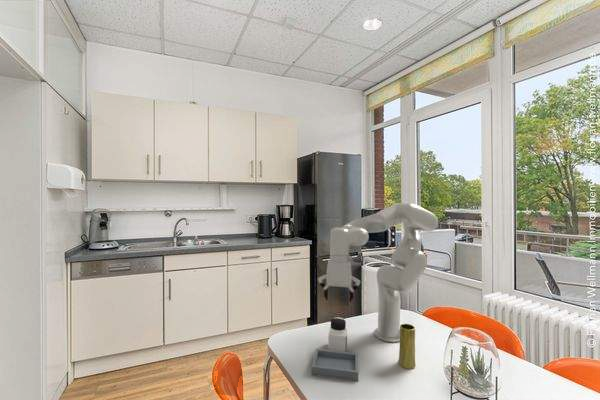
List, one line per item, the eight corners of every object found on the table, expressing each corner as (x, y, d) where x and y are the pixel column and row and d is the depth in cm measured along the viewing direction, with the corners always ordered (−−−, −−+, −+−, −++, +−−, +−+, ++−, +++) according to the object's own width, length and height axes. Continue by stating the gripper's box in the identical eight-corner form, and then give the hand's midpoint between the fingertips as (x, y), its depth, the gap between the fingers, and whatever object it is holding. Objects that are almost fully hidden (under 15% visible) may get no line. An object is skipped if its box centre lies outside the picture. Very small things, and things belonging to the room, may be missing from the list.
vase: (407, 371, 104) (408, 331, 104) (394, 362, 110) (395, 324, 109) (419, 366, 107) (420, 328, 107) (406, 358, 112) (406, 321, 112)
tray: (357, 361, 110) (357, 353, 109) (358, 381, 98) (358, 372, 98) (315, 356, 112) (316, 348, 112) (311, 375, 101) (311, 366, 101)
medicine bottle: (346, 354, 115) (346, 324, 114) (328, 351, 116) (328, 322, 116) (346, 345, 122) (347, 316, 121) (329, 343, 123) (330, 315, 123)
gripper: (360, 257, 120) (359, 298, 121) (319, 255, 124) (318, 295, 124) (361, 261, 113) (360, 304, 113) (317, 258, 116) (316, 301, 116)
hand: (338, 299), depth 119 cm, fingers open, 9 cm apart
